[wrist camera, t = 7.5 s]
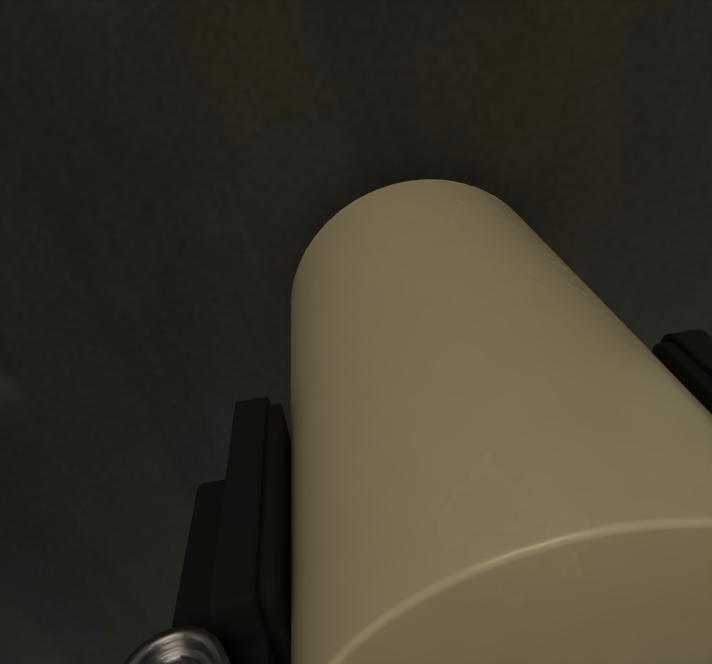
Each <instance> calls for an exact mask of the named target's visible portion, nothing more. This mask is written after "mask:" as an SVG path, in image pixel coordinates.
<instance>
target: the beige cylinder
mask: <svg viewBox="0 0 712 664" xmlns="http://www.w3.org/2000/svg"><path fill="white" fill-rule="evenodd" d="M291 664H712V414H711V413H710V412H709V411H708V410H707V409H706V408H705V407H704V406H703V405H702V404H701V403H700V402H699V401H698V400H697V399H696V398H695V397H694V396H693V395H692V394H691V393H690V392H689V391H688V390H687V389H686V387H685V386H684V385H683V384H682V383H681V382H680V381H679V380H678V379H677V378H676V377H675V376H674V375H673V374H672V373H671V372H670V371H669V370H668V369H667V368H666V367H665V366H664V365H663V364H662V363H661V362H660V361H659V360H658V359H657V358H656V357H655V356H654V355H653V353H652V352H651V351H650V350H649V349H648V348H647V347H646V346H645V345H644V344H643V343H642V342H641V341H640V340H639V339H638V338H637V337H636V336H635V335H634V334H633V333H632V332H631V331H630V330H629V329H628V328H627V327H626V326H625V325H624V324H623V323H622V322H621V321H620V319H619V318H618V317H617V316H616V315H615V314H614V313H613V312H612V311H611V310H610V309H609V308H608V307H607V306H606V305H605V304H604V303H603V302H602V301H601V300H600V299H599V298H598V297H597V296H596V295H595V294H594V293H593V292H592V291H591V290H590V289H589V288H588V287H587V285H586V284H585V283H584V282H583V281H582V280H581V279H580V278H579V277H578V276H577V275H576V274H575V273H574V272H573V271H572V270H571V269H570V268H569V267H568V266H567V265H566V264H565V263H564V262H563V261H562V260H561V259H560V258H559V257H558V256H557V255H556V254H555V253H554V251H553V250H552V249H551V248H550V247H549V246H548V245H547V244H546V243H545V242H544V241H543V240H542V239H541V238H540V237H539V236H538V235H537V234H536V233H535V232H534V231H533V230H532V229H531V228H530V227H529V226H528V225H527V224H526V223H525V222H524V221H523V220H522V219H521V217H519V216H518V215H517V214H516V213H515V212H514V211H513V210H512V209H511V208H510V207H509V206H508V205H507V204H505V203H504V202H502V201H501V200H499V199H498V198H497V197H495V196H493V195H491V194H489V193H487V192H485V191H483V190H481V189H479V188H476V187H473V186H470V185H467V184H464V183H458V182H453V181H448V180H430V179H426V180H415V181H407V182H402V183H398V184H393V185H389V186H387V187H384V188H381V189H378V190H375V191H373V192H371V193H369V194H367V195H365V196H363V197H361V198H359V199H357V200H355V201H354V202H352V203H351V204H349V205H348V206H346V207H345V208H343V209H342V210H341V211H339V212H338V213H337V214H336V215H335V216H334V217H333V218H331V219H330V220H329V221H328V222H327V223H326V224H325V225H324V226H323V228H322V229H321V230H320V231H319V232H318V233H317V234H316V236H315V237H314V239H313V240H312V242H311V243H310V245H309V246H308V248H307V249H306V251H305V253H304V255H303V257H302V259H301V261H300V263H299V266H298V269H297V272H296V275H295V278H294V282H293V288H292V294H291Z"/></svg>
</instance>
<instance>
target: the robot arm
mask: <svg viewBox="0 0 712 664" xmlns="http://www.w3.org/2000/svg"><path fill="white" fill-rule="evenodd" d="M652 353H653V355H654V356H655V357H656V358H657V359H658V360H659V361H660V362H661V363H662V364H663V365H664V366H665V367H666V368H667V369H668V370H669V371H670V372H671V373H672V374H673V375H674V376H675V377H676V378H677V379H678V380H679V381H680V382H681V383H682V384H683V385H684V386H685V387H686V389H687V390H688V391H689V392H690V393H691V394H692V395H693V396H694V397H695V398H696V399H697V400H698V401H699V402H700V403H701V404H702V405H703V406H704V407H705V408H706V409H707V410H708V411H709V412H710V413H711V414H712V337H711V336H710V335H708V334H707V333H706V332H704V331H703V330H698V329H697V330H690V331H684V332H677V333H671V334H667V335H665V336H664V337H663V338H662V340H661V343H660V344H656V345H655V346H654V348H653V351H652ZM124 664H291V441H290V437H289V433H288V428H287V424H286V420H285V416H284V411H283V408H282V405H281V403H278V404H272V405H271V403H270V400H269V398H268V397H264V398H257V399H251V400H245V401H238V402H236V405H235V411H234V419H233V426H232V434H231V441H230V449H229V456H228V464H227V472H226V479H225V480H220V481H214V482H207V483H201V485H200V486H199V487H198V491H197V494H196V500H195V505H194V510H193V516H192V521H191V527H190V532H189V537H188V543H187V548H186V554H185V559H184V565H183V570H182V575H181V581H180V586H179V592H178V597H177V602H176V608H175V613H174V619H173V624H172V628H171V629H168V630H166V631H163V632H161V633H158V634H156V635H154V636H153V637H151V638H150V639H149V640H147V641H146V642H144V643H143V644H141V645H140V646H139V647H138V648H137V649H136V650H135V651H134V652H133V653H132V654H131V655H130V657H129V658H128V659H127V660H126V661H125V663H124Z"/></svg>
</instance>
